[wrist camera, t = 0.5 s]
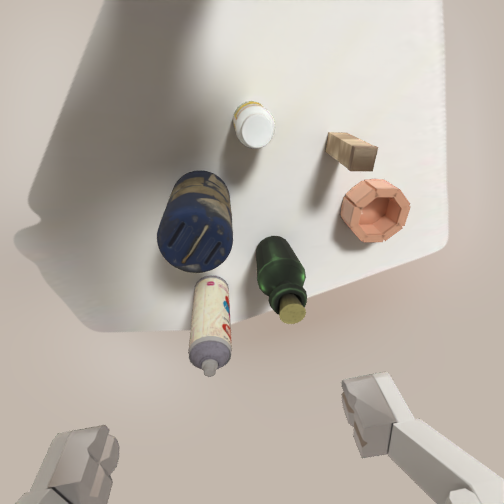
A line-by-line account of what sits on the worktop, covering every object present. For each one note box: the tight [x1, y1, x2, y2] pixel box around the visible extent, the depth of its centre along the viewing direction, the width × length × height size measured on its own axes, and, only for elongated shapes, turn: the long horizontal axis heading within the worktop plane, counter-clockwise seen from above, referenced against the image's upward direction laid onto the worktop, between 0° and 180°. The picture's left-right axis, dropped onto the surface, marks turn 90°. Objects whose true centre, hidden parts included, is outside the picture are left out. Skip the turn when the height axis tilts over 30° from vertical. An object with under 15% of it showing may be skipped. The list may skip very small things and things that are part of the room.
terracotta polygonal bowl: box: [340, 179, 410, 242], centre depth 53 cm, size 10×10×5 cm
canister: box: [157, 171, 233, 273], centre depth 44 cm, size 10×10×18 cm
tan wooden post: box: [326, 132, 378, 171], centre depth 44 cm, size 3×3×11 cm
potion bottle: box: [256, 236, 307, 324], centre depth 51 cm, size 8×8×18 cm
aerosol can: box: [188, 276, 232, 377], centre depth 53 cm, size 7×7×20 cm
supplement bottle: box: [233, 101, 275, 148], centre depth 42 cm, size 5×5×10 cm
